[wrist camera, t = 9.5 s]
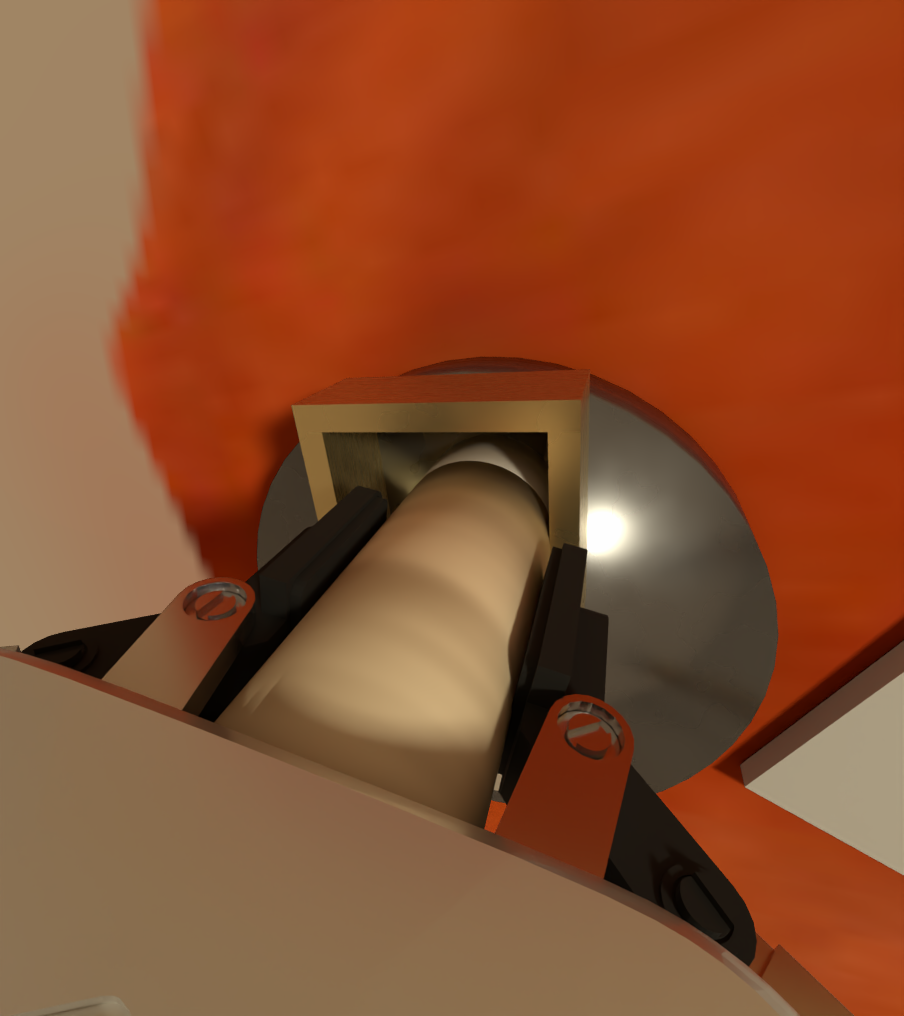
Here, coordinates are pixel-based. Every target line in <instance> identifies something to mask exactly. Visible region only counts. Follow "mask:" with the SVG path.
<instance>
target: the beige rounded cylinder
mask: <svg viewBox="0 0 904 1016" xmlns="http://www.w3.org/2000/svg"><path fill="white" fill-rule="evenodd" d="M549 558H550V538H549V480H548V463H547V462H546V461H545V460H544V459H543V458H542V457H541V456H540V455H539V454H538V453H537V452H536V451H535V450H533V449H532V448H530V447H529V446H527V445H525V444H524V443H522V442H519V441H517V440H515V439H512V438H508V437H505V436H499V435H478V436H474V437H470V438H467V439H464V440H462V441H460V442H458V443H456V444H454V445H453V446H451V447H450V448H449V449H448V450H447V451H446V452H445V453H444V454H443V455H442V456H441V457H440V458H439V459H438V460H437V462H436V463H435V464H434V465H433V466H432V467H431V469H430V470H429V471H428V472H427V473H426V474H425V476H424V477H423V478H422V479H421V480H420V481H419V483H418V484H417V485H416V486H415V487H414V489H413V490H412V491H411V492H410V493H409V494H408V496H407V497H406V498H405V499H404V500H403V501H402V503H401V504H400V505H399V506H398V507H397V508H396V510H395V511H394V512H393V513H392V514H391V515H390V517H389V518H388V519H387V520H386V521H385V523H384V524H383V525H382V526H381V527H380V528H379V530H378V531H377V532H376V533H375V534H374V535H373V537H372V538H371V539H370V540H369V541H368V542H367V544H366V545H365V546H364V547H363V548H362V550H361V551H360V552H359V553H358V554H357V555H356V557H355V558H354V559H353V560H352V561H351V562H350V564H349V565H348V566H347V567H346V568H345V569H344V571H343V572H342V573H341V574H340V575H339V576H338V578H337V579H336V580H335V581H334V582H333V584H332V585H331V586H330V587H329V588H328V589H327V591H326V592H325V593H324V594H323V595H322V596H321V598H320V599H319V600H318V601H317V602H316V603H315V605H314V606H313V607H312V608H311V609H310V610H309V612H308V613H307V614H306V615H305V616H304V618H303V619H302V620H301V621H300V622H299V623H298V625H297V626H296V627H295V628H294V629H293V630H292V632H291V633H290V634H289V635H288V636H287V637H286V639H285V640H284V641H283V642H282V643H281V645H280V646H279V647H278V648H277V649H276V650H275V652H274V653H273V654H272V655H271V656H270V657H269V659H268V660H267V661H266V662H265V663H264V664H263V666H262V667H261V668H260V669H259V670H258V671H257V673H256V674H255V675H254V676H253V677H252V679H251V680H250V681H249V682H248V683H247V684H246V686H245V687H244V688H243V689H242V690H241V691H240V693H239V694H238V695H237V696H236V697H235V698H234V700H233V701H232V702H231V703H230V704H229V706H228V707H227V708H226V709H225V710H224V711H223V713H222V714H221V715H220V716H219V717H218V718H217V720H216V721H215V722H214V723H216V724H219V725H221V726H224V727H226V728H229V729H232V730H234V731H237V732H239V733H242V734H244V735H247V736H249V737H252V738H255V739H257V740H260V741H262V742H265V743H267V744H270V745H272V746H275V747H278V748H280V749H283V750H285V751H288V752H290V753H293V754H295V755H298V756H300V757H303V758H306V759H308V760H311V761H313V762H316V763H318V764H321V765H323V766H326V767H328V768H331V769H333V770H336V771H339V772H341V773H344V774H346V775H349V776H351V777H354V778H356V779H359V780H361V781H364V782H367V783H369V784H372V785H374V786H377V787H379V788H382V789H384V790H387V791H389V792H392V793H394V794H397V795H399V796H402V797H404V798H407V799H409V800H412V801H414V802H417V803H419V804H422V805H424V806H427V807H429V808H432V809H434V810H437V811H439V812H442V813H444V814H447V815H449V816H452V817H454V818H457V819H459V820H462V821H464V822H467V823H469V824H472V825H474V826H477V827H479V828H482V829H484V827H485V823H486V819H487V815H488V811H489V807H490V803H491V799H492V794H493V790H494V786H495V782H496V778H497V774H498V770H499V766H500V761H501V757H502V753H503V749H504V745H505V741H506V737H507V733H508V728H509V724H510V719H511V714H512V702H513V698H514V694H515V690H516V686H517V682H518V678H519V674H520V670H521V666H522V662H523V658H524V654H525V650H526V646H527V642H528V638H529V634H530V630H531V626H532V622H533V618H534V614H535V610H536V606H537V602H538V599H539V595H540V591H541V587H542V583H543V579H544V575H545V572H546V568H547V565H548V561H549Z"/></svg>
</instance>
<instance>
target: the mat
mask: <svg viewBox="0 0 904 1016" xmlns="http://www.w3.org/2000/svg"><path fill="white" fill-rule="evenodd" d="M740 767H741V772H742V777H743V781H744V786H745V787H746V788H748V789H749V790H751V791H753V792H755V793H757V794H758V795H760V796H762V797H764V798H766V799H767V800H769V801H771V802H773V803H775V804H776V805H778V806H780V807H782V808H784V809H785V810H787V811H789V812H791V813H793V814H794V815H796V816H798V817H800V818H802V819H803V820H805V821H807V822H809V823H811V824H812V825H814V826H816V827H818V828H820V829H821V830H823V831H825V832H827V833H829V834H830V835H832V836H834V837H836V838H838V839H839V840H841V841H843V842H845V843H847V844H848V845H850V846H852V847H854V848H856V849H857V850H859V851H861V852H863V853H865V854H866V855H868V856H870V857H872V858H874V859H875V860H877V861H879V862H881V863H883V864H884V865H886V866H888V867H890V868H892V869H893V870H895V871H897V872H899V873H901V874H903V875H904V641H903V642H901V643H900V644H899V645H897V646H896V647H895V648H893V649H892V650H891V651H889V652H888V653H887V654H885V655H884V656H883V657H881V658H880V659H879V660H878V661H876V662H875V663H874V664H872V665H871V666H870V667H868V668H867V669H866V670H864V671H863V672H862V673H860V674H859V675H858V676H856V677H855V678H854V679H852V680H851V681H850V682H849V683H847V684H846V685H845V686H843V687H842V688H841V689H839V690H838V691H837V692H835V693H834V694H833V695H831V696H830V697H829V698H827V699H826V700H825V701H824V702H822V703H821V704H820V705H818V706H817V707H816V708H814V709H813V710H812V711H810V712H809V713H808V714H806V715H805V716H804V717H802V718H801V719H800V720H798V721H797V722H796V723H795V724H793V725H792V726H791V727H789V728H788V729H787V730H785V731H784V732H783V733H781V734H780V735H779V736H777V737H776V738H775V739H773V740H772V741H771V742H770V743H768V744H767V745H766V746H764V747H763V748H762V749H760V750H759V751H758V752H756V753H755V754H754V755H752V756H751V757H750V758H748V759H747V760H746V761H744V762H743V763H742V764H741V765H740Z"/></svg>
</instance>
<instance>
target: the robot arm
mask: <svg viewBox="0 0 904 1016" xmlns="http://www.w3.org/2000/svg"><path fill="white" fill-rule="evenodd" d="M387 508H388V502H387V499H383V498H382V494H381V492H380V491H377V490H373V489H370V488H366V487H362V486H356V487H355V488H354V489H353V490H352V491H351V492H350V493H348V494H347V495H346V496H345V497H344V498H343V499H342V500H341V501H340V502H339V503H338V504H336V505H335V506H334V507H333V508H332V509H331V510H330V511H329V512H328V513H327V514H325V515H324V516H323V517H322V518H321V519H320V520H319V521H318V522H317V523H316V524H314V525H313V526H311V527H307V528H306V529H304V530H303V531H302V532H301V533H300V534H298V535H297V536H296V537H295V538H294V539H293V540H292V541H291V542H290V543H288V544H287V545H286V546H285V547H284V548H283V549H282V550H281V551H280V552H278V553H277V554H276V555H275V556H274V557H273V558H272V559H271V560H269V561H268V562H267V563H266V564H265V565H264V566H263V567H262V568H261V569H259V570H258V571H257V572H256V573H255V574H254V575H253V576H252V577H251V578H249V579H248V580H247V581H246V582H244V581H241V580H238V579H234V578H226V577H218V578H209V579H205V580H202V581H198V582H196V583H194V584H192V585H190V586H188V587H187V588H185V589H184V590H183V591H182V592H180V593H179V594H178V595H177V596H176V598H175V599H174V600H173V601H172V602H171V603H170V604H169V605H168V606H167V607H166V608H165V610H164V611H163V612H162V613H160V614H155V615H150V616H144V617H140V618H135V619H129V620H124V621H119V622H113V623H108V624H103V625H98V626H93V627H87V628H82V629H77V630H72V631H67V632H63V633H58V634H55V635H51V636H48V637H46V638H44V639H41V640H39V641H37V642H35V643H33V644H32V645H30V646H29V647H27V648H26V649H24V650H23V651H22V652H21V651H20V648H19V646H6V647H0V1016H854V1015H853V1014H852V1013H851V1012H850V1011H849V1010H848V1009H847V1008H845V1007H844V1006H843V1005H842V1004H841V1003H840V1002H839V1001H838V1000H837V999H836V998H835V997H834V996H833V995H832V994H831V993H830V992H829V991H828V990H827V989H826V988H825V987H823V986H822V985H821V984H820V983H819V982H818V981H817V980H816V979H815V978H814V977H813V976H812V975H811V974H810V973H809V972H808V971H807V970H806V969H805V968H804V967H803V966H801V965H800V964H799V963H798V962H797V961H796V960H795V959H794V958H793V957H792V956H791V955H790V954H789V953H788V952H787V951H786V950H785V949H784V948H783V947H782V946H781V945H778V946H777V947H776V948H775V949H773V948H771V947H770V946H769V945H768V944H767V943H766V942H765V941H764V940H763V939H762V938H761V937H760V936H759V935H758V934H757V933H756V932H755V928H754V922H753V920H752V918H751V916H750V913H749V911H748V909H747V906H746V904H745V902H744V901H743V899H742V898H741V897H740V895H739V894H738V892H737V891H736V889H735V888H734V886H733V885H732V884H731V883H730V882H729V880H728V879H727V878H726V877H725V876H724V874H723V873H722V872H721V871H720V870H719V868H718V867H717V866H716V865H715V864H714V863H713V861H712V860H711V859H710V858H709V857H708V855H707V854H706V853H705V852H704V851H703V849H702V848H701V847H700V846H699V845H698V843H697V842H696V841H695V840H694V839H693V837H692V836H691V835H690V834H689V833H688V832H687V830H686V829H685V828H684V827H683V826H682V824H681V823H680V822H679V821H678V820H677V818H676V817H675V816H674V815H673V814H672V812H671V811H670V810H669V809H668V808H667V806H666V805H665V804H664V803H663V802H662V801H661V799H660V798H659V797H658V796H657V795H656V793H655V792H654V791H653V790H652V789H651V787H650V786H649V785H648V784H647V783H646V781H645V780H644V779H643V778H642V777H641V775H640V774H639V773H638V772H637V771H636V769H635V768H634V767H633V766H632V765H631V761H632V756H633V752H634V737H633V734H632V731H631V728H630V727H629V725H628V724H627V722H626V721H625V719H624V718H623V716H622V715H621V714H619V713H618V712H617V711H616V710H615V709H614V708H613V707H612V706H610V705H608V704H607V703H605V683H606V664H607V645H608V626H609V617H608V615H605V614H602V613H599V612H595V611H592V610H589V609H585V608H582V607H580V606H581V598H582V590H583V583H584V575H585V568H586V560H587V553H588V550H587V549H584V548H581V547H577V546H573V545H570V544H566V543H564V544H563V547H562V549H561V548H557V547H554V546H553V548H552V551H551V555H550V558H549V561H548V565H547V568H546V572H545V575H544V579H543V583H542V587H541V591H540V595H539V599H538V602H537V606H536V610H535V614H534V618H533V622H532V626H531V630H530V634H529V638H528V642H527V646H526V650H525V654H524V658H523V662H522V666H521V670H520V674H519V678H518V682H517V686H516V690H515V694H514V698H513V702H512V714H511V719H510V724H509V728H508V733H507V737H506V741H505V745H504V749H503V753H502V757H501V761H500V766H499V770H498V774H501V775H502V778H501V782H500V786H499V790H498V793H500V795H501V796H502V798H503V800H504V801H505V803H506V805H507V807H506V809H505V811H504V814H503V816H502V818H501V820H500V823H499V825H498V827H497V829H496V832H495V834H494V833H492V832H489V831H487V830H484V829H482V828H479V827H477V826H474V825H472V824H469V823H467V822H464V821H462V820H459V819H457V818H454V817H452V816H449V815H447V814H444V813H442V812H439V811H437V810H434V809H432V808H429V807H427V806H424V805H422V804H419V803H417V802H414V801H412V800H409V799H407V798H404V797H402V796H399V795H397V794H394V793H392V792H389V791H387V790H384V789H382V788H379V787H377V786H374V785H372V784H369V783H367V782H364V781H361V780H359V779H356V778H354V777H351V776H349V775H346V774H344V773H341V772H339V771H336V770H333V769H331V768H328V767H326V766H323V765H321V764H318V763H316V762H313V761H311V760H308V759H306V758H303V757H300V756H298V755H295V754H293V753H290V752H288V751H285V750H283V749H280V748H278V747H275V746H272V745H270V744H267V743H265V742H262V741H260V740H257V739H255V738H252V737H249V736H247V735H244V734H242V733H239V732H237V731H234V730H232V729H229V728H226V727H224V726H221V725H219V724H216V723H214V722H215V721H216V720H217V718H218V717H219V716H220V715H221V714H222V713H223V711H224V710H225V709H226V708H227V707H228V706H229V704H230V703H231V702H232V701H233V700H234V698H235V697H236V696H237V695H238V694H239V693H240V691H241V690H242V689H243V688H244V687H245V686H246V684H247V683H248V682H249V681H250V680H251V679H252V677H253V676H254V675H255V674H256V673H257V671H258V670H259V669H260V668H261V667H262V666H263V664H264V663H265V662H266V661H267V660H268V659H269V657H270V656H271V655H272V654H273V653H274V652H275V650H276V649H277V648H278V647H279V646H280V645H281V643H282V642H283V641H284V640H285V639H286V637H287V636H288V635H289V634H290V633H291V632H292V630H293V629H294V628H295V627H296V626H297V625H298V623H299V622H300V621H301V620H302V619H303V618H304V616H305V615H306V614H307V613H308V612H309V610H310V609H311V608H312V607H313V606H314V605H315V603H316V602H317V601H318V600H319V599H320V598H321V596H322V595H323V594H324V593H325V592H326V591H327V589H328V588H329V587H330V586H331V585H332V584H333V582H334V581H335V580H336V579H337V578H338V576H339V575H340V574H341V573H342V572H343V571H344V569H345V568H346V567H347V566H348V565H349V564H350V562H351V561H352V560H353V559H354V558H355V557H356V555H357V554H358V553H359V552H360V551H361V550H362V548H363V547H364V546H365V545H366V544H367V542H368V541H369V540H370V539H371V538H372V537H373V535H374V534H375V533H376V532H377V531H378V530H379V528H380V527H381V526H382V525H383V524H384V523H385V521H386V518H387Z"/></svg>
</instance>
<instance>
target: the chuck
mask: <svg viewBox="0 0 904 1016" xmlns="http://www.w3.org/2000/svg"><path fill="white" fill-rule="evenodd" d="M291 406H292V410H293V415H294V419H295V423H296V428H297V432H298V436H299V441H300V442H299V443H298V444H297V445H296V447H295V448H294V449H293V450H292V452H291V453H290V454H289V455H288V456H287V458H286V459H285V460H284V462H283V464H282V466H281V467H280V469H279V471H278V473H277V475H276V476H275V478H274V480H273V482H272V483H271V486H270V489H269V492H268V494H267V497H266V500H265V503H264V506H263V509H262V514H261V519H260V524H259V530H258V543H257V564H258V570H259V569H261V568H262V567H263V566H264V565H265V564H266V563H267V562H268V561H269V560H271V559H272V558H273V557H274V556H275V555H276V554H277V553H278V552H280V551H281V550H282V549H283V548H284V547H285V546H286V545H287V544H288V543H290V542H291V541H292V540H293V539H294V538H295V537H296V536H297V535H298V534H300V533H301V532H302V531H303V530H304V529H306V528H307V527H311V526H313V525H314V524H316V523H317V522H318V521H319V520H320V519H321V518H322V517H323V516H324V515H325V514H327V513H328V512H329V511H330V510H331V509H332V508H333V507H334V506H335V505H336V504H338V503H339V502H340V501H341V500H342V499H343V498H344V497H345V496H346V495H347V494H348V493H350V492H351V491H352V490H353V489H354V488H355V487H356V486H362V487H366V488H370V489H373V490H377V491H380V492H381V494H382V498H383V499H387V502H388V508H387V518H386V520H387V519H388V518H389V517H390V515H391V514H392V513H393V512H394V511H395V510H396V508H397V507H398V506H399V505H400V504H401V503H402V501H403V500H404V499H405V498H406V497H407V496H408V494H409V493H410V492H411V491H412V490H413V489H414V487H415V486H416V485H417V484H418V483H419V481H420V480H421V479H422V478H423V477H424V476H425V474H426V473H427V472H428V471H429V470H430V469H431V467H432V466H433V465H434V464H435V463H436V462H437V460H438V459H439V458H440V457H441V456H442V455H443V454H444V453H445V452H446V451H447V450H448V449H449V448H450V447H451V446H453V445H454V444H456V443H458V442H460V441H462V440H464V439H467V438H470V437H474V436H478V435H499V436H505V437H508V438H512V439H515V440H517V441H519V442H522V443H524V444H525V445H527V446H529V447H530V448H532V449H533V450H535V451H536V452H537V453H538V454H539V455H540V456H541V457H542V458H543V459H544V460H545V461H546V462H547V463H548V480H549V538H550V555H551V551H552V548H553V546H554V547H557V548H561V549H562V547H563V544H564V543H566V544H570V545H573V546H577V547H581V548H584V549H587V550H588V553H587V560H586V568H585V575H584V583H583V590H582V598H581V606H580V607H582V608H585V609H589V610H592V611H595V612H599V613H602V614H605V615H608V617H609V626H608V645H607V664H606V683H605V703H607V704H608V705H610V706H612V707H613V708H614V709H615V710H616V711H617V712H618V713H619V714H621V715H622V716H623V718H624V719H625V721H626V722H627V724H628V725H629V727H630V728H631V731H632V734H633V737H634V752H633V756H632V761H631V765H632V766H633V767H634V768H635V769H636V771H637V772H638V773H639V774H640V775H641V777H642V778H643V779H644V780H645V781H646V783H647V784H648V785H649V786H650V787H651V789H652V790H653V791H654V792H655V793H658V792H661V791H664V790H666V789H668V788H670V787H672V786H674V785H676V784H678V783H680V782H683V781H685V780H687V779H689V778H690V777H692V776H693V775H695V774H696V773H698V772H699V771H701V770H702V769H704V768H705V767H707V766H708V765H710V764H711V763H713V762H714V761H715V760H716V759H717V758H718V757H719V756H721V755H722V754H723V753H724V752H725V751H726V750H727V749H728V748H729V747H731V746H732V745H733V744H734V742H735V741H736V740H737V739H738V737H739V736H740V735H741V734H742V732H743V731H744V730H745V729H746V727H747V726H748V725H749V724H750V722H751V721H752V719H753V717H754V715H755V714H756V712H757V710H758V708H759V706H760V704H761V702H762V701H763V699H764V697H765V694H766V691H767V688H768V685H769V682H770V679H771V676H772V673H773V670H774V666H775V657H776V649H777V641H778V625H777V610H776V600H775V596H774V592H773V588H772V584H771V580H770V577H769V573H768V569H767V566H766V563H765V561H764V559H763V556H762V554H761V552H760V549H759V547H758V544H757V542H756V540H755V537H754V535H753V533H752V530H751V528H750V526H749V523H748V521H747V519H746V517H745V514H744V512H743V510H742V508H741V505H740V503H739V501H738V499H737V496H736V494H735V493H734V491H733V490H732V488H731V486H730V485H729V483H728V482H727V480H726V479H725V477H724V476H723V474H722V473H721V471H720V470H719V468H718V466H717V465H716V464H715V463H714V461H713V460H712V459H711V458H710V457H709V456H708V455H707V454H706V452H705V451H704V450H703V449H702V448H701V447H700V446H699V445H698V443H697V442H696V441H695V440H694V439H693V438H692V437H691V436H690V435H689V434H688V433H687V432H685V431H684V430H683V429H682V428H681V427H679V426H678V425H677V424H676V423H675V422H673V421H672V420H671V419H670V418H669V417H667V416H666V415H665V414H664V413H663V412H661V411H660V410H658V409H657V408H655V407H653V406H652V405H650V404H649V403H647V402H645V401H644V400H642V399H641V398H639V397H637V396H636V395H634V394H633V393H631V392H629V391H628V390H625V389H623V388H621V387H619V386H617V385H614V384H612V383H610V382H608V381H605V380H603V379H601V378H599V377H597V376H594V375H592V374H590V369H584V370H575V369H572V368H568V367H565V366H562V365H558V364H555V363H548V362H542V361H536V360H530V359H523V358H512V357H475V358H466V359H458V360H449V361H444V362H440V363H436V364H432V365H429V366H425V367H421V368H417V369H414V370H411V371H409V372H407V373H404V374H402V375H400V376H390V377H362V378H346V379H344V380H342V381H340V382H338V383H336V384H334V385H332V386H330V387H328V388H326V389H324V390H321V391H319V392H317V393H315V394H313V395H311V396H309V397H307V398H305V399H303V400H301V401H299V402H297V403H295V404H293V405H291ZM501 778H502V775H501V774H497V778H496V782H495V786H494V790H493V794H492V799H491V800H493V801H497V802H503V803H505V801H504V800H503V798H502V796H501V795H500V793H498V790H499V786H500V782H501Z"/></svg>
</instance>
